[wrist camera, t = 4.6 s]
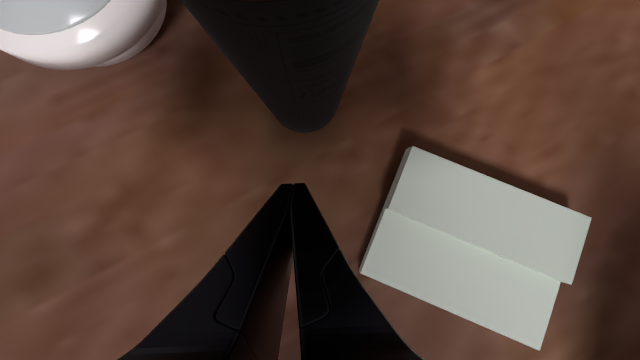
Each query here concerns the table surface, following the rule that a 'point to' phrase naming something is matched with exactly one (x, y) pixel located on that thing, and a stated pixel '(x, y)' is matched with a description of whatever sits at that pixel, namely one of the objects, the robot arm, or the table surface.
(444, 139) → the table surface
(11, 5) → the bowl
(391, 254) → the napkin
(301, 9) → the drinking cup
